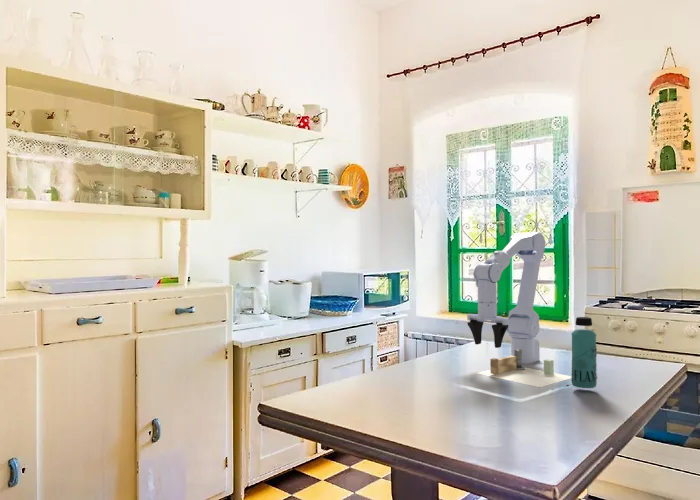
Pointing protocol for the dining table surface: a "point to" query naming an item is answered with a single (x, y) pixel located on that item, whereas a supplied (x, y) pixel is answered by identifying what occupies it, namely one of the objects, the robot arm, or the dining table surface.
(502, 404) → the dining table surface
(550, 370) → the latch post
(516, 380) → the board
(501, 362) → the tan wooden bar
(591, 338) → the beverage bottle
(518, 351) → the hinge post
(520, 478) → the dining table surface
